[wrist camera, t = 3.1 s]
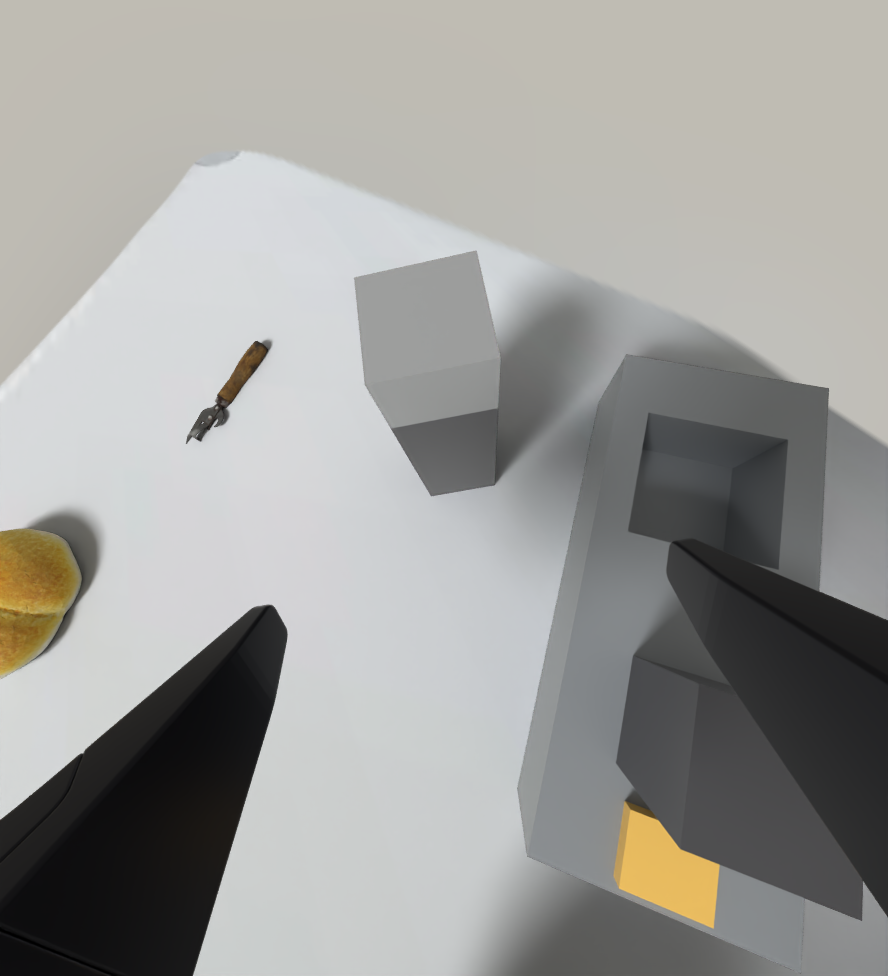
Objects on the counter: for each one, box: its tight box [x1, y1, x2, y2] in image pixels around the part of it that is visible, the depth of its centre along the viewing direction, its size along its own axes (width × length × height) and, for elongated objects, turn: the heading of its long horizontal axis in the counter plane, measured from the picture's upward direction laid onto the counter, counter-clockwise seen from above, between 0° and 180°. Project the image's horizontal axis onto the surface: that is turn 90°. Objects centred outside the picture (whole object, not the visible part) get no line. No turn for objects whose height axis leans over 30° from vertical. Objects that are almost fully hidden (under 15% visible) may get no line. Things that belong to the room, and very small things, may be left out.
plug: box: [354, 251, 501, 496], centre depth 17 cm, size 4×4×13 cm
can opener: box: [186, 341, 268, 444], centre depth 27 cm, size 9×2×1 cm, turn 145°
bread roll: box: [0, 529, 82, 679], centre depth 23 cm, size 8×9×4 cm
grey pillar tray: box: [517, 354, 863, 973], centre depth 15 cm, size 22×9×10 cm, turn 164°
